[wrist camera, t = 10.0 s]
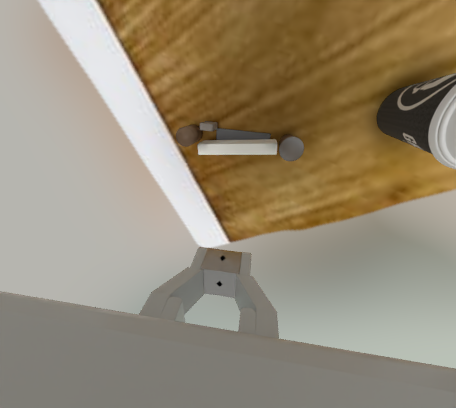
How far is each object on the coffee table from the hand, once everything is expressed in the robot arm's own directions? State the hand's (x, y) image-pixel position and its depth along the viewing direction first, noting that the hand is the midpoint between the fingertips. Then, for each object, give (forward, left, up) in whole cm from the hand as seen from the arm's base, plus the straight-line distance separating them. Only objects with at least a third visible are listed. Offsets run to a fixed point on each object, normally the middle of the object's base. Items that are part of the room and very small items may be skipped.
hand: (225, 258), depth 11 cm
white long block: (-2, -2, -25) cm, 26 cm away
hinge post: (-3, +6, -26) cm, 27 cm away
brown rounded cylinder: (-3, -9, -26) cm, 28 cm away
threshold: (-3, -2, -26) cm, 26 cm away
